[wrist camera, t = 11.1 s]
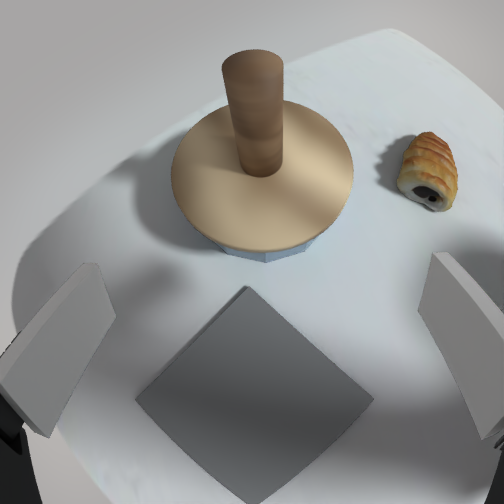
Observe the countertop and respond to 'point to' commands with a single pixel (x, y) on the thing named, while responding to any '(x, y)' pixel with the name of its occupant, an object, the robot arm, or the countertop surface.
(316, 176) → the lid
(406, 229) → the countertop surface
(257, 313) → the mat
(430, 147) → the pastry
